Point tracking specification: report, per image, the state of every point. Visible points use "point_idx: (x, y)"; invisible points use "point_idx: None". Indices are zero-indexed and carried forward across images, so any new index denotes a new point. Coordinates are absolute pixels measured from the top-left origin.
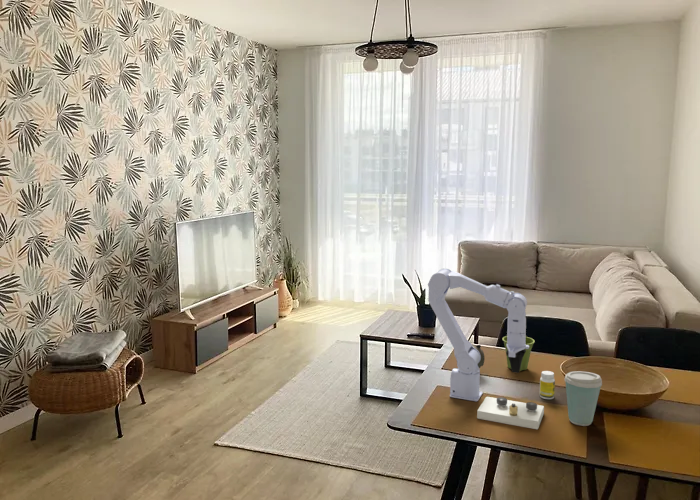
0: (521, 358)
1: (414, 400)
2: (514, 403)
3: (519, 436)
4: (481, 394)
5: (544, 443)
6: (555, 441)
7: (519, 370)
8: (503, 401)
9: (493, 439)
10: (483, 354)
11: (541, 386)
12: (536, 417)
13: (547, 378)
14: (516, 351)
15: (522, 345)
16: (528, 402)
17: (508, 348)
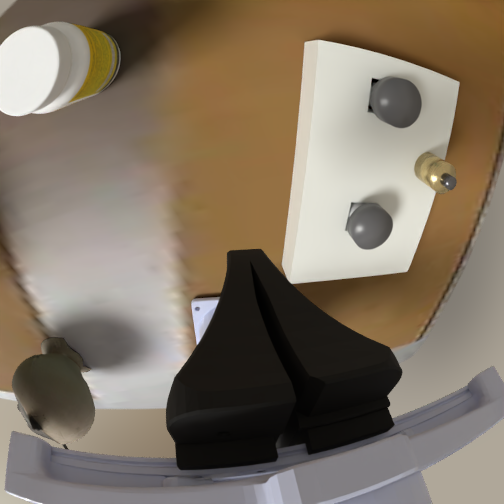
0: (363, 338)
1: None
2: (331, 174)
3: (475, 134)
4: (217, 299)
5: (493, 73)
6: (481, 41)
7: (252, 256)
8: (392, 221)
9: (485, 194)
10: (28, 389)
11: (91, 87)
12: (436, 83)
13: (71, 53)
14: (492, 413)
15: (422, 495)
16: (386, 117)
17: (427, 467)
